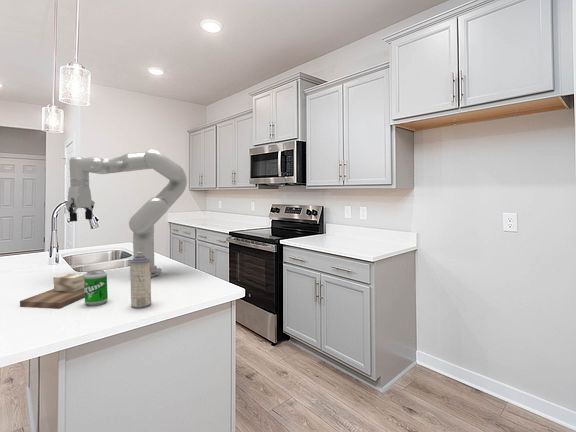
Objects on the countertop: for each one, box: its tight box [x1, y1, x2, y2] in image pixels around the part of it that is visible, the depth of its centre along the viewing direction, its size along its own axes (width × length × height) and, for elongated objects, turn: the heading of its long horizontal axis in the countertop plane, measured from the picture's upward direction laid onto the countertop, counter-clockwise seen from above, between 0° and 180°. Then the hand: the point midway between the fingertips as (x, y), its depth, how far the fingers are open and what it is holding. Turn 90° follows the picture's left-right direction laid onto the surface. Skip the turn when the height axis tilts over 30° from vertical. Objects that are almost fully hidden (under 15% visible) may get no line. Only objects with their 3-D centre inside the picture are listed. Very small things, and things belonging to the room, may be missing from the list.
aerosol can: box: [129, 252, 152, 310], centre depth 121 cm, size 7×7×20 cm
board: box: [19, 288, 85, 309], centre depth 129 cm, size 16×22×2 cm
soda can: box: [84, 269, 109, 307], centre depth 123 cm, size 8×8×12 cm
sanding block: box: [52, 273, 85, 293], centre depth 132 cm, size 9×6×6 cm, turn 84°
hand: (81, 220), depth 154 cm, fingers open, 9 cm apart
